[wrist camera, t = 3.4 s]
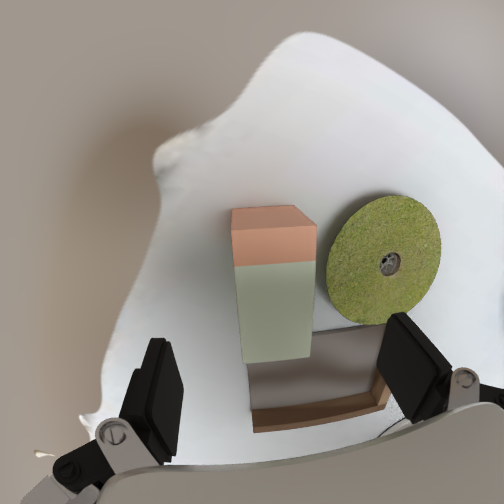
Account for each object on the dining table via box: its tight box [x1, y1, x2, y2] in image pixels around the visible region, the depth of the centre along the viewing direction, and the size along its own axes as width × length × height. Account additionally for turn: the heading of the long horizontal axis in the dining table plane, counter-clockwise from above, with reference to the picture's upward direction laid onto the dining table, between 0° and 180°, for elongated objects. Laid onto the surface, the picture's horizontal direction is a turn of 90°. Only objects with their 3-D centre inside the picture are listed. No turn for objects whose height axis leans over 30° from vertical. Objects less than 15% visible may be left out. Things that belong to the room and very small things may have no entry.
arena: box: [247, 322, 391, 433], centre depth 25 cm, size 11×15×3 cm
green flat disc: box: [326, 195, 441, 325], centre depth 21 cm, size 11×11×2 cm
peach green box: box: [231, 205, 317, 364], centre depth 19 cm, size 9×4×6 cm, turn 3°
